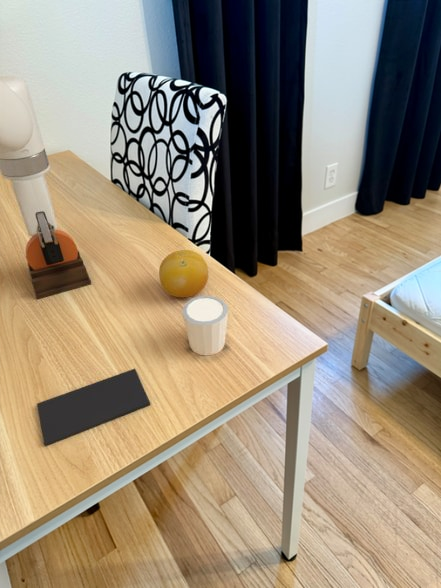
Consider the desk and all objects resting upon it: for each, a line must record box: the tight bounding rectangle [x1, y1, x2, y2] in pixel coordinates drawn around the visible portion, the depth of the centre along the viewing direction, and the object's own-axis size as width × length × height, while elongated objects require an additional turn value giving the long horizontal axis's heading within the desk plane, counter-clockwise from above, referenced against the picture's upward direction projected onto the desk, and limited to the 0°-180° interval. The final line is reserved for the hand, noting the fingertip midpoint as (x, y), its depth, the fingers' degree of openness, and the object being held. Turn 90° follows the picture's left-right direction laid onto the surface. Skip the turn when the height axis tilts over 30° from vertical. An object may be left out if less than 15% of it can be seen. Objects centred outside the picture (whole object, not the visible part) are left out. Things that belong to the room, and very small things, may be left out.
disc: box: [25, 229, 79, 270], centre depth 80 cm, size 9×2×9 cm, turn 116°
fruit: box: [158, 249, 209, 298], centre depth 76 cm, size 9×8×8 cm
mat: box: [36, 368, 151, 447], centre depth 59 cm, size 14×7×1 cm, turn 116°
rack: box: [25, 245, 92, 300], centre depth 83 cm, size 10×11×4 cm
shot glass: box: [182, 295, 229, 356], centre depth 66 cm, size 7×7×7 cm
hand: (53, 256), depth 81 cm, fingers open, 3 cm apart
